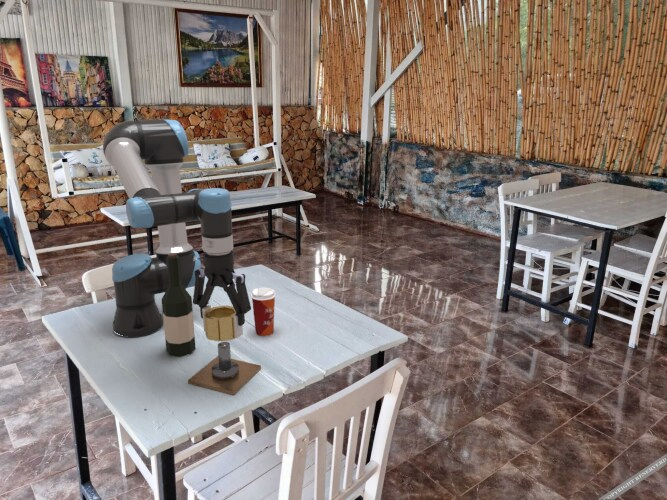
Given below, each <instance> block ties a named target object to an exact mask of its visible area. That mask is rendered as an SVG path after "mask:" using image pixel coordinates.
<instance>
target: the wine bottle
mask: <svg viewBox="0 0 667 500" xmlns="http://www.w3.org/2000/svg"><path fill="white" fill-rule="evenodd" d="M167 267H168V278H169V286H168V288H167V290H166V292H164V293H163V296H162V297H161V309H162V318H163V330H164V338H165V339H164V340H165V349H166V353H167V354H168V355H169V357H177V358H182V357H185V356H187V355H192V353H194V351H195V350H196V348H197V347H196V336H195V326H194V325H195V322H194V312H193V311H194V310H193V298H192V297H193V296H191V294H190V293H189V292H188V291H187V288H186V289H185V288H184V287H183V285H182V283H181V271H180V259H179V256H178V255H177V253H169V254H168V257H167Z"/></svg>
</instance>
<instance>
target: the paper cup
mask: <svg viewBox="0 0 667 500" xmlns="http://www.w3.org/2000/svg"><path fill="white" fill-rule="evenodd" d="M276 296H277V295H276V292H275V290H274V289H272V288H270V287H256V288H254V289H253V290H252V292H251V294H250V297H251V300H252V311H253V320H254V328H255V329H254V330H255V334H256V335H257V336H259V337H268V336H270V335H272V334H273V333H274V326H275V299H276Z"/></svg>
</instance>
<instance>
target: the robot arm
mask: <svg viewBox="0 0 667 500" xmlns="http://www.w3.org/2000/svg"><path fill="white" fill-rule="evenodd" d="M188 141H189V140H188V137H187V134H186V131H185V129H184V127H183V125H182V124H181V123H180V122H179V121H178V120H175V119H164V118H162V119H145V120H144V119H143V120H142V119H141V120H126V121H125V120H124V121H122V122H120V123H117V124H116V125H114V126H113V127H112V128H111V129H110V130H109V131H108V132H107V134H106V135H105V137H104V140H103V145H102V150H103V155H104V157H105V159H106V161H107V163H108V164H110V165H111V166H112V167H114V170H115V172H116V175H117V177H119V180H120V182H121V184H122V186H123V188H124V190H125V193H126V194H127V197H128V199H127V200H126V202H125V210H126V218H127V221H128V224H129V225H130V227H132V228H134V229H143V228H146V229H150V228H154V227H157V232H158V240H159V246H158V247H157V249H156V250H155V255H156V256H155V257H151V256H150V255H149V253H134V254H130V255H126V256H123V257H121V258H120V259H118V260H117V261H115V262H114V264H113V265H112V267H111V269H112V270H111V274H112V277H111V278H112V282H113V283H112V284H113V291H114V298H115V306H116V309H115V312H114V318H113V322H112V329H113V330H114V331H115V332H116V333H118V334H120V335H123V336H128V337H127V338H141V337H146V336H148V335H151V334H154V333H156V332H158V331H159V330H161V328H162V327H164V321H163V314H161V312H160V309H159V308H158V305H157V303H156V297H155V295H159V294H165V292H166V290H167V288H168V286H169V278H168V267H167V257H168V254H169V253H177V255H178V256H179V259H180V271H181V283H182V285H183V287H184V288H185V289H186V290H187V289H188V288H192V287H194V288H193V296H192V297H193V298H192V305H195V306H196V305H197V306H198V307H199V312H200V318H201V319H202V320H203V321H202V324H203V332H205V322H204V312H206V311H207V310H209V309H210V308H212V306H211V305H210V300H211V297H212V294H213V293H214V289H215V287H216V288H217V287H219V288H222V290H223V291H224V292H225V294H227V295H226V296H228V299H229V301H230V303H231V306H233V307H234V309H235V312H236V313H235V314H234V329H235V339H239V338H240V337H241V336H243V334H244V331H243V330H244V328H243V325H245V322H246V318H245V315H246V314H247V313H248V312H250V311H251V310H252V306H251V302H250V298H249V294H248V290H247V285H246V274H245V273H241V274H239V273H236V271H235V269H234V265H235V256H234V255H235V254H234V251H233V250H234V239H233V237H234V236H233V220H232V219H233V217H232V215H233V214H232V207H233V205H232V201H231V193H230V191H229V190H227V189H225V188H220V187H214V188H212V187H211V188H204V189H201V188H192V189H190V190H188V191H186V192H183V191H182V188H183V187H182V180H181V172H180V171H181V170H180V168H181V167H182V165H184V164H185V163H184V158H186V157H187V156H188V155H189V142H188ZM148 169H149V170H150V172H149V170H148ZM190 222H191V223H192V222H200V231H201V242H202V243H201V244H202V245H201V246H202V251H203V254H202V257H203V259H202V261H203V267H202V262H201V257H200V254H199V252H198V251H195V250H194V247H193V246H192V244H190V243H189V242H188V235H187V225H186V223H190ZM206 278H207V282H206V283H205V280H206ZM114 331H113V332H114ZM140 336H141V337H140Z"/></svg>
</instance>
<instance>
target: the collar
mask: <svg viewBox="0 0 667 500" xmlns="http://www.w3.org/2000/svg"><path fill="white" fill-rule="evenodd" d="M235 313H236V312H235V309H234V307H233V305H220V306H219V305H218V306H213V307H211V308H210V309H209V310H207V311H206V312H204V322H205V333H204V334H205V336H206V338H207V340H210V341H214V342H218V343H220V342H228V341H232V340H235V339H236V338H235V329H234V314H235Z"/></svg>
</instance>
